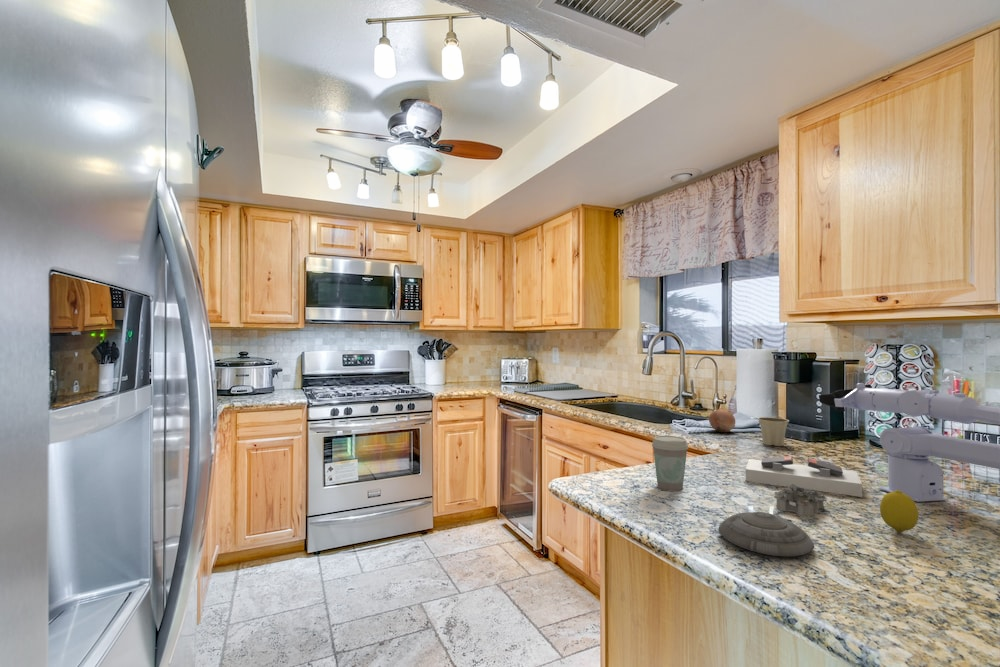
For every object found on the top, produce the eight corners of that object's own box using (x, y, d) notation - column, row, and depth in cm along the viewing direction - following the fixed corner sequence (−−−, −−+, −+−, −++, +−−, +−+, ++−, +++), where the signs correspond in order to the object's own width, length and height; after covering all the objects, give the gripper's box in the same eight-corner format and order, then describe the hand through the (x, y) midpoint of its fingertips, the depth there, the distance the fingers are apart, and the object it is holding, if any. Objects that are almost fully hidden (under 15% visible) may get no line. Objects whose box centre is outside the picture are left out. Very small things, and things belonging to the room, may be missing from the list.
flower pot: (764, 440, 171) (764, 416, 171) (793, 444, 164) (793, 419, 164) (753, 443, 165) (753, 419, 165) (782, 448, 158) (782, 422, 158)
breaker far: (793, 462, 124) (791, 455, 124) (793, 467, 120) (791, 459, 120) (763, 464, 128) (762, 457, 128) (762, 469, 123) (761, 461, 124)
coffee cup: (648, 489, 115) (648, 440, 115) (655, 480, 123) (654, 433, 123) (686, 495, 111) (686, 443, 111) (690, 485, 119) (690, 437, 119)
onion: (718, 437, 190) (716, 413, 195) (741, 434, 183) (738, 409, 188) (705, 431, 185) (703, 406, 190) (728, 428, 178) (726, 402, 183)
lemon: (880, 524, 93) (879, 484, 94) (917, 532, 90) (917, 489, 90) (879, 533, 89) (879, 491, 89) (919, 541, 86) (918, 497, 86)
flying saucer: (705, 543, 86) (705, 513, 86) (735, 521, 96) (735, 494, 96) (801, 573, 75) (801, 538, 75) (823, 544, 85) (823, 513, 85)
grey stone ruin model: (809, 519, 97) (808, 499, 97) (770, 508, 103) (770, 489, 103) (829, 508, 103) (829, 489, 103) (792, 498, 109) (792, 480, 109)
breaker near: (839, 473, 119) (841, 466, 119) (841, 479, 115) (843, 471, 114) (806, 464, 122) (808, 457, 122) (807, 468, 118) (809, 461, 118)
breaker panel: (856, 483, 120) (856, 464, 120) (862, 496, 110) (862, 476, 110) (749, 469, 132) (749, 452, 133) (745, 480, 122) (745, 462, 122)
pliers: (808, 467, 131) (804, 455, 144) (808, 473, 130) (804, 460, 144) (852, 472, 126) (844, 459, 139) (853, 478, 126) (844, 465, 139)
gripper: (900, 379, 120) (849, 378, 133) (855, 388, 116) (807, 386, 130) (905, 407, 120) (854, 403, 133) (860, 417, 116) (812, 411, 129)
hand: (831, 396), depth 131 cm, fingers open, 7 cm apart
